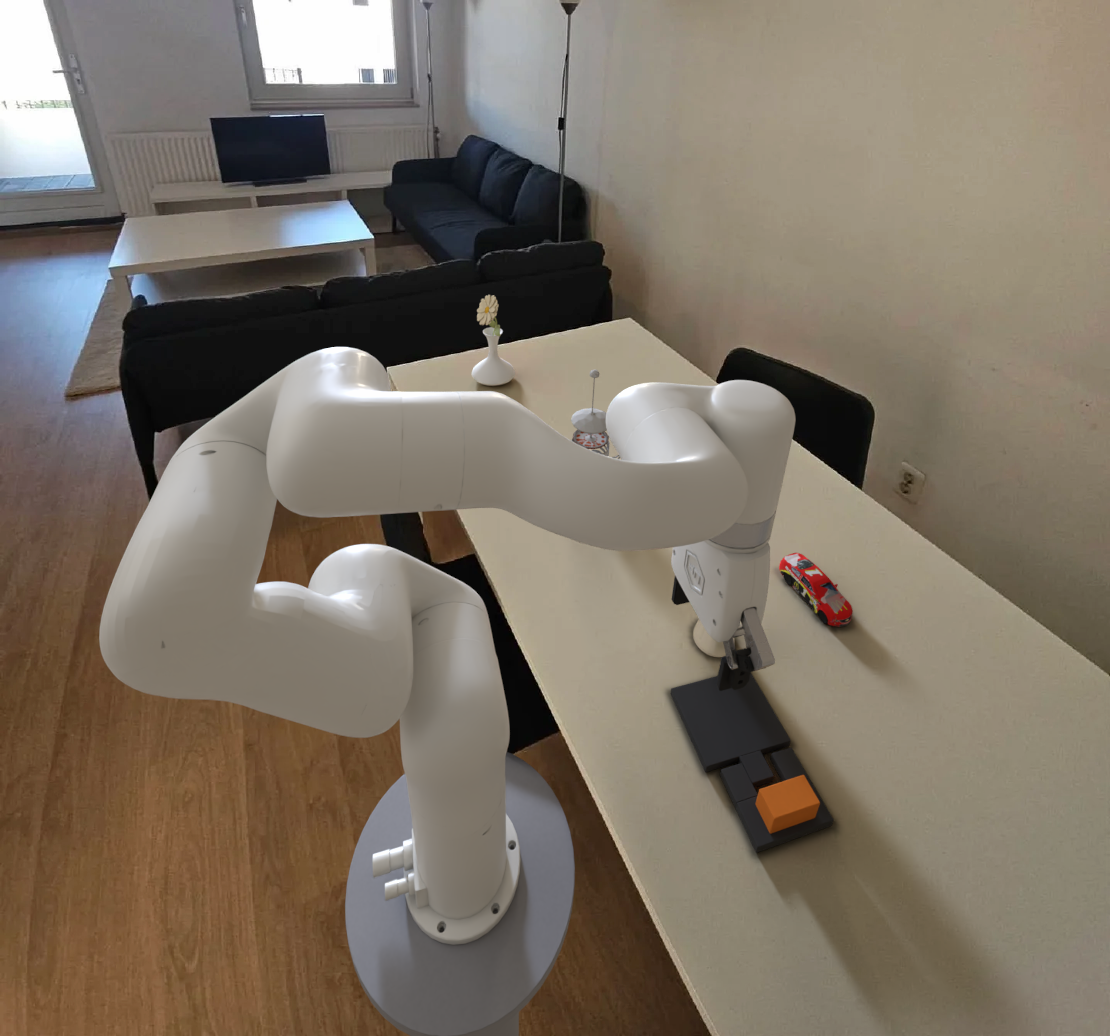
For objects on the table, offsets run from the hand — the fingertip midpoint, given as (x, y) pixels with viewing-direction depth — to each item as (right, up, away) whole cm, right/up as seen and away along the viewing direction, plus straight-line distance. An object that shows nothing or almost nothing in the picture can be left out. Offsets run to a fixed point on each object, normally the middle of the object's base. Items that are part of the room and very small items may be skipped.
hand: (707, 639), depth 62 cm
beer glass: (+8, -17, +29) cm, 34 cm away
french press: (-8, -2, +62) cm, 62 cm away
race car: (+27, -14, +37) cm, 47 cm away
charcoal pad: (+8, -22, +17) cm, 28 cm away
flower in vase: (-32, +13, +96) cm, 102 cm away
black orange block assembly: (+10, -25, +10) cm, 29 cm away
